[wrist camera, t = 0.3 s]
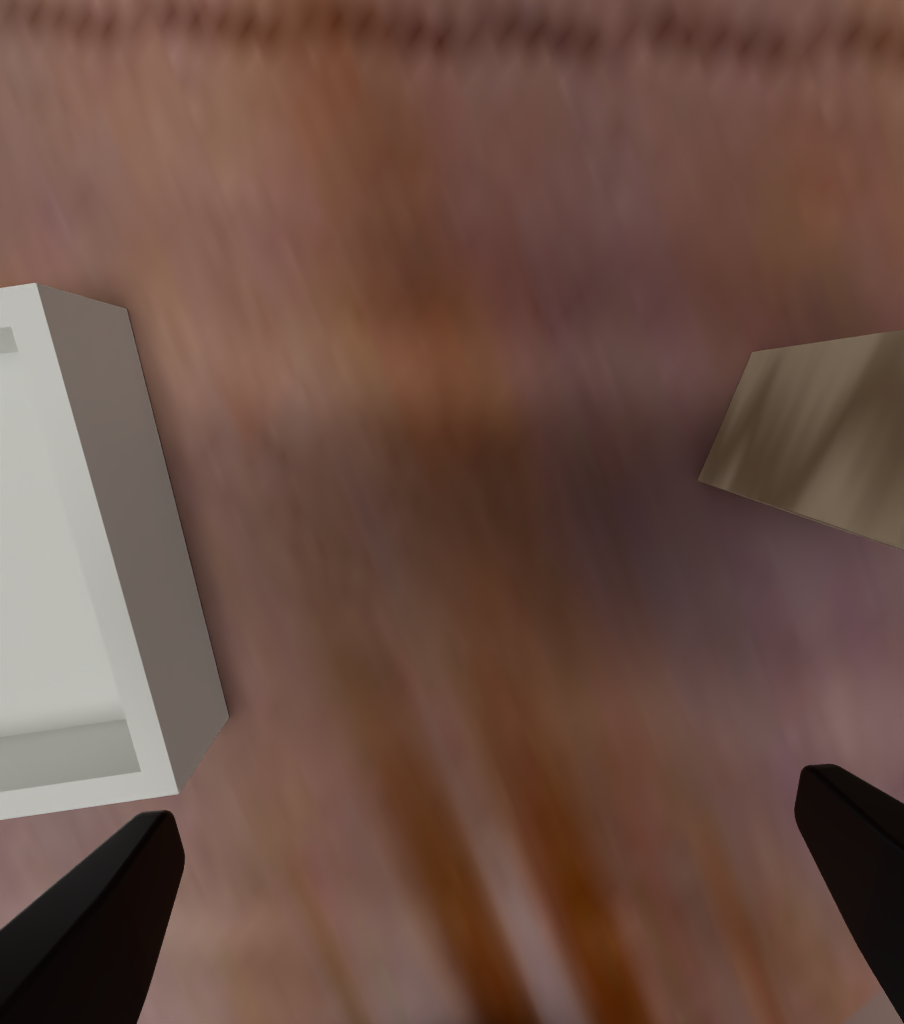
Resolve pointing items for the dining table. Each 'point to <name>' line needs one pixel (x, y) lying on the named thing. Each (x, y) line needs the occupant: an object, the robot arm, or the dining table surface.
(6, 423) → the box
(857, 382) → the birch block
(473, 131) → the dining table surface
